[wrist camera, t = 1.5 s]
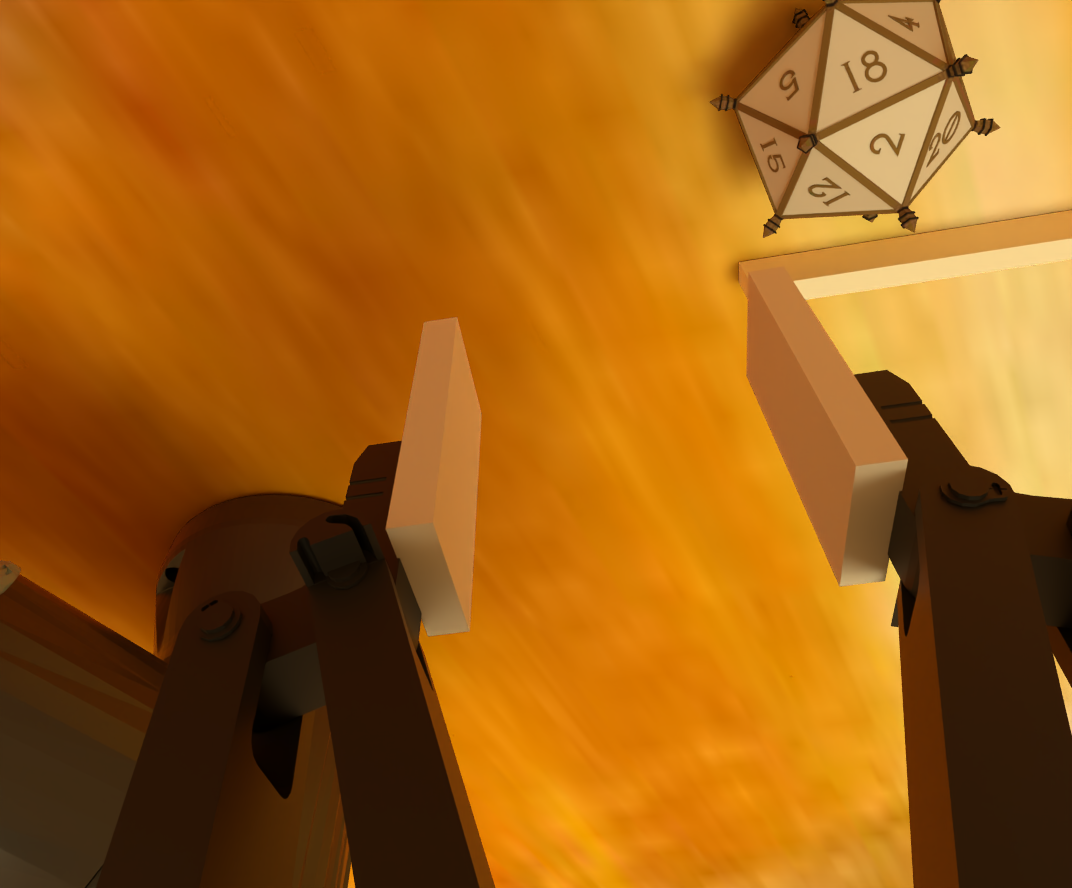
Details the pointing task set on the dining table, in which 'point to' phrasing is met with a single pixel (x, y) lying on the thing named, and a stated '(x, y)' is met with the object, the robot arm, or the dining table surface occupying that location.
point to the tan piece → (924, 256)
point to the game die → (857, 111)
